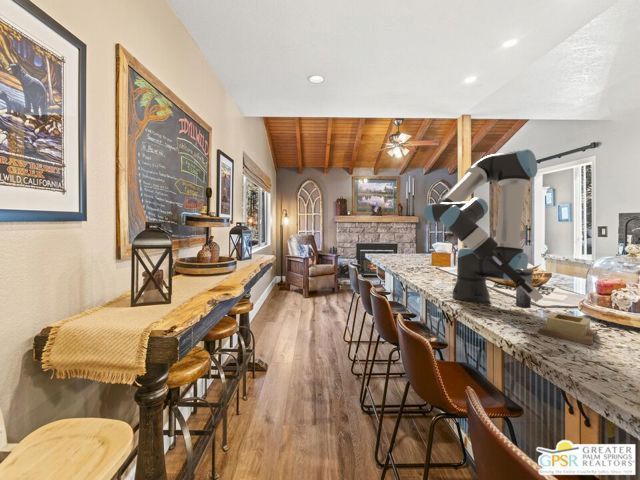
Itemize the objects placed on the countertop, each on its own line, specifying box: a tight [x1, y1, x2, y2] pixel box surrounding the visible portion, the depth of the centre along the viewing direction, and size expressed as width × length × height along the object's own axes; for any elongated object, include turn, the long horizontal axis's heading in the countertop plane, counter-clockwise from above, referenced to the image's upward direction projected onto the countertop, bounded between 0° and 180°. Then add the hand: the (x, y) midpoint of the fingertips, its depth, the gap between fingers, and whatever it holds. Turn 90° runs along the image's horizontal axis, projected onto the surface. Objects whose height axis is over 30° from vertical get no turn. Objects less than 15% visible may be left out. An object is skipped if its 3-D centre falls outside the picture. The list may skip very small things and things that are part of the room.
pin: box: [515, 267, 535, 309], centre depth 99 cm, size 5×5×12 cm
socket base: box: [538, 322, 598, 346], centre depth 94 cm, size 12×12×2 cm
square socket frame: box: [546, 311, 591, 337], centre depth 94 cm, size 9×9×4 cm
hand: (538, 297), depth 98 cm, fingers closed on pin, 4 cm apart
